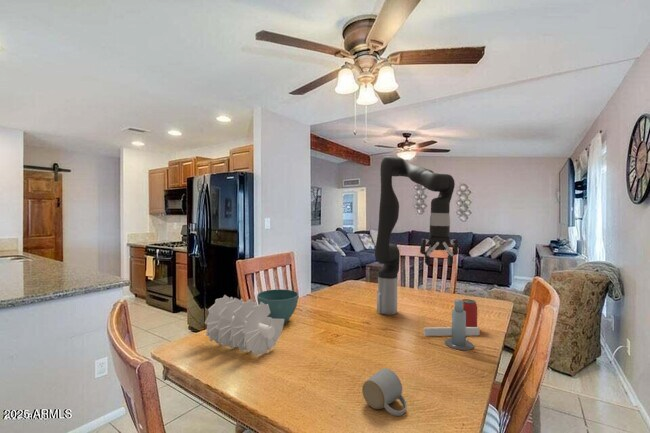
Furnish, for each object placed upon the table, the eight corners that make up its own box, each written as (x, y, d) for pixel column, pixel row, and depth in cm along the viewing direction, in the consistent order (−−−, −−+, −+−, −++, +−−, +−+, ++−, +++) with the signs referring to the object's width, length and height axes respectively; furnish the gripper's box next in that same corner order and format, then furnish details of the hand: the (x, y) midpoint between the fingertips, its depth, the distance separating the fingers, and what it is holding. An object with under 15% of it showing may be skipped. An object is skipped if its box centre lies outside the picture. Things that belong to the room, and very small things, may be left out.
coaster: (451, 350, 115) (451, 349, 115) (440, 339, 125) (440, 338, 125) (479, 350, 115) (479, 349, 115) (466, 339, 125) (466, 337, 125)
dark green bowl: (304, 317, 151) (304, 291, 150) (287, 331, 134) (287, 301, 133) (269, 313, 157) (269, 287, 156) (249, 325, 140) (249, 297, 139)
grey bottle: (455, 346, 118) (455, 302, 117) (449, 340, 122) (449, 298, 122) (468, 346, 118) (468, 302, 118) (462, 340, 123) (462, 298, 122)
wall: (424, 335, 128) (424, 328, 128) (423, 334, 129) (423, 327, 129) (479, 335, 129) (479, 327, 129) (478, 334, 130) (478, 326, 130)
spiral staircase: (261, 372, 107) (209, 352, 120) (290, 334, 121) (241, 319, 133) (246, 331, 100) (192, 314, 112) (279, 295, 113) (227, 283, 126)
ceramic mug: (359, 403, 83) (360, 374, 83) (378, 391, 89) (379, 363, 89) (394, 423, 76) (395, 391, 76) (413, 408, 82) (413, 378, 81)
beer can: (479, 332, 132) (479, 303, 131) (461, 331, 133) (462, 302, 133) (474, 327, 138) (475, 299, 138) (458, 326, 139) (458, 298, 139)
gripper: (453, 224, 132) (452, 263, 133) (418, 223, 132) (417, 263, 133) (461, 225, 124) (460, 267, 125) (424, 224, 124) (423, 266, 125)
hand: (438, 265), depth 129 cm, fingers open, 8 cm apart
